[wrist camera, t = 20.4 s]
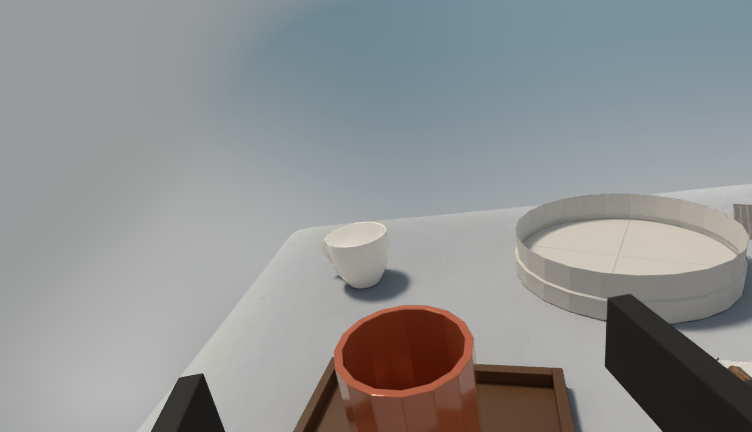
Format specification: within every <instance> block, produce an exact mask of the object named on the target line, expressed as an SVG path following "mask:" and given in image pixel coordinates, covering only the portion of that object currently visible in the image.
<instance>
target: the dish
mask: <svg viewBox="0 0 752 432" xmlns="http://www.w3.org/2000/svg"><path fill="white" fill-rule="evenodd" d="M625 213H630V214H625ZM585 214H586V215H585ZM639 214H640V215H639ZM667 218H668V219H667ZM515 230H516V243H517V245H516V248H515V259H516V268H517V274H518V277H519V278H520V280H521V281H522V282H523V284H524V285H525V286H526V288H527V289H529V290H530V291H531V292H533V293H534V294H536V295H537V296H538V297H540V298H541V299H543V300H544V301H547V302H549V303H551V304H553V305H556V306H558V307H560V308H563V309H565V310H567V311H570V312H574V313H577V314H581V315H585V316H589V317H592V318H596V319H600V320H607V298H609V297H615V296H620V295H626V294H632V295H633V296H634V297H636V298H637V299H638V300H639V301H641V302H642V303H643V304H645V305H646V306H647V307H648V308H650V309H651V310H652V311H654V312H655V313H656V314H657V315H659V316H660V317H661V318H663V319H664V320H665V321H666V322H668V323H669V324H674V323H680V322H687V321H693V320H699V319H705V318H707V317H710V316H712V315H715V314H717V313H719V312H722V311H724V310H727V309H729V308H730V307H731V306H732V305H733V304H734V303H735V302H736V301H737V300H739V299H740V298H741V297H742V294H743V289H744V284H745V279H746V272H747V266H748V262H747V260H746V258H745V257H746V252H747V246H748V241H749V235H748V233H747V232H746V230H745V229H744V227H743V226H742V224H740V223H739V222H737V221H736V220H734V219H733V218H731V217H730V216H728V215H727V214H725V213H722V212H720V211H717V210H715V209H712V208H710V207H707V206H704V205H700V204H696V203H692V202H689V201H685V200H680V199H674V198H667V197H661V196H652V195H638V194H600V195H587V196H579V197H573V198H567V199H561V200H558V201H554V202H551V203H547V204H544V205H542V206H539V207H537V208H535V209H533V210H531V211H529V212H528V213H526V214H525V215H524V216H523V217H521V218H520V219H519V221H518V223H517V226H516V228H515Z"/></svg>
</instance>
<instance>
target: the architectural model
mask: <svg viewBox="0 0 752 432" xmlns="http://www.w3.org/2000/svg"><path fill="white" fill-rule="evenodd" d="M734 220H736V221H737V222H739V223H740V224H742V226H743V227H744V229H745V230H746V232H747V233H748V235H749V239H752V205H741V204H734Z"/></svg>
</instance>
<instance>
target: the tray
mask: <svg viewBox="0 0 752 432" xmlns="http://www.w3.org/2000/svg"><path fill="white" fill-rule="evenodd" d="M476 365H477V375H478V384H479V394H480V404H481V413H482V423H483V432H575V429H574V424H573V419H572V414H571V409H570V404H569V399H568V394H567V389H566V384H565V379H564V374H563V369H562V368H552V369H551V368H547V367H526V366H505V365H483V364H476ZM293 432H351V431H350V427H349V423H348V419H347V415H346V411H345V407H344V403H343V399H342V395H341V391H340V387H339V383H338V379H337V375H336V371H335V361H334V357H332V359H331V361H330V363H329V364H328V366H327V368H326V370H325V372H324V374H323V376H322V378H321V380H320V382H319V384H318V385H317V387H316V389H315V391H314V393H313V395H312V397H311V399H310V401H309V403H308V405H307V406H306V408H305V410H304V412H303V414H302V416H301V418H300V420H299V422H298V424H297V426H296V427H295V429H294V431H293Z"/></svg>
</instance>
